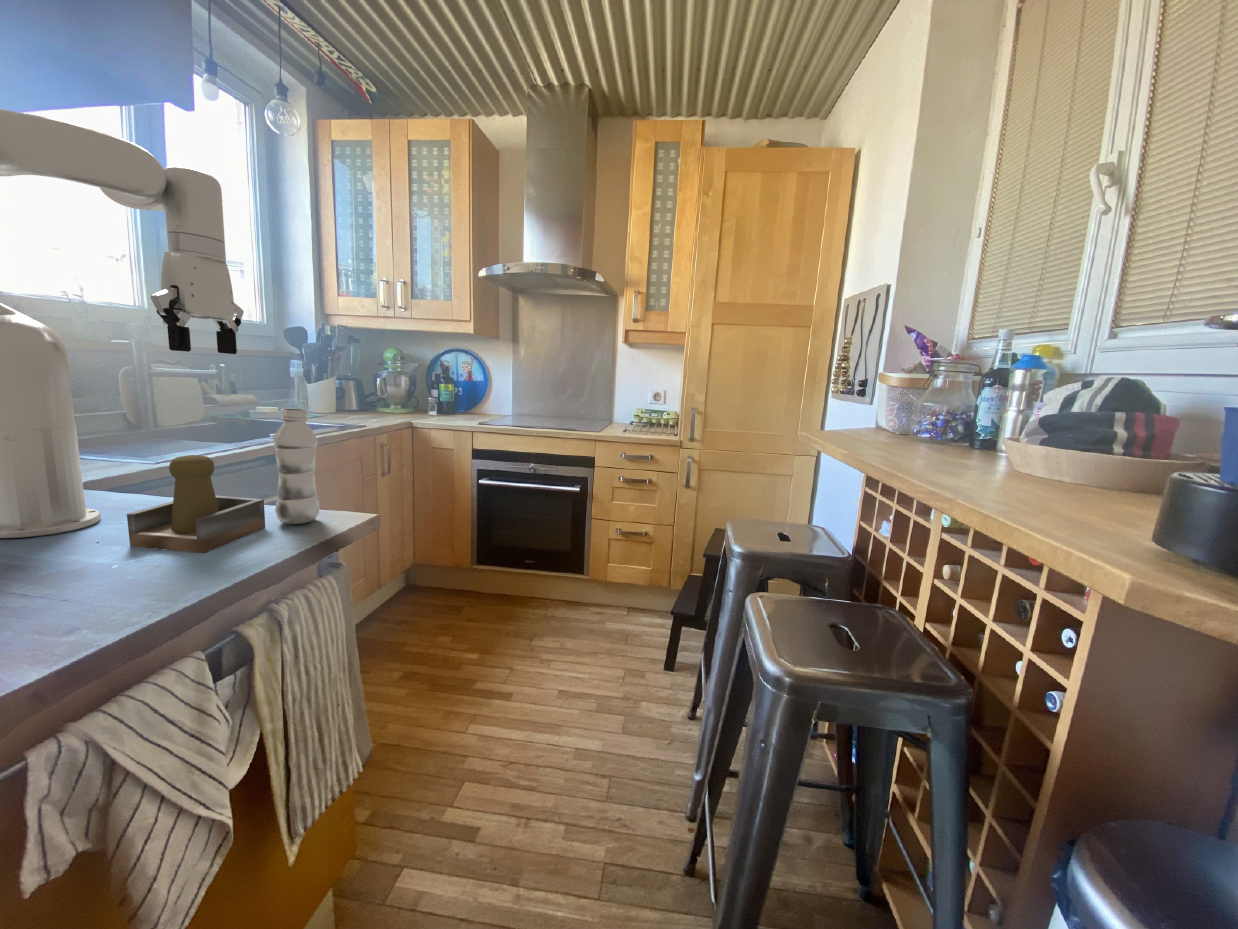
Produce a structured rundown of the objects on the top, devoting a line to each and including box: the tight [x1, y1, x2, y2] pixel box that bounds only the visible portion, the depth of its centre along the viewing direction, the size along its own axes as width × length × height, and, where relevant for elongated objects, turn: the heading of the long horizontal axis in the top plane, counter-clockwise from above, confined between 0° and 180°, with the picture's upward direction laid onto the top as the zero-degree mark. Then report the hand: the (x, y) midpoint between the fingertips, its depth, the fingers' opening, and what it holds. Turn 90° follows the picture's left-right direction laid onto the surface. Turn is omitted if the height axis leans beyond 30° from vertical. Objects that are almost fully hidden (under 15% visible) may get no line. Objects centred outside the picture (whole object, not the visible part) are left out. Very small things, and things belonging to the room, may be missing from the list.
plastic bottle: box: [272, 407, 320, 525], centre depth 85 cm, size 6×7×20 cm
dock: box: [126, 494, 266, 554], centre depth 77 cm, size 11×12×5 cm
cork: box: [168, 454, 219, 532], centre depth 75 cm, size 6×6×11 cm
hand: (205, 352), depth 87 cm, fingers open, 9 cm apart
